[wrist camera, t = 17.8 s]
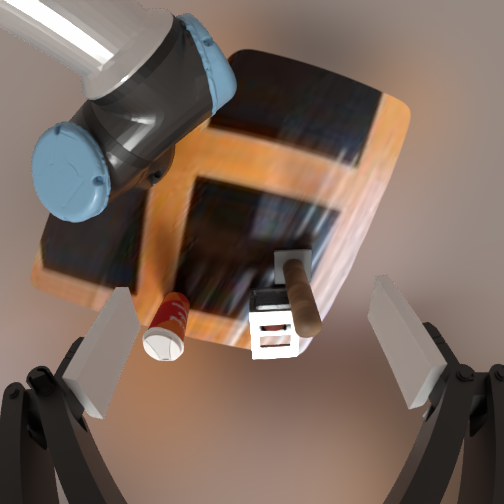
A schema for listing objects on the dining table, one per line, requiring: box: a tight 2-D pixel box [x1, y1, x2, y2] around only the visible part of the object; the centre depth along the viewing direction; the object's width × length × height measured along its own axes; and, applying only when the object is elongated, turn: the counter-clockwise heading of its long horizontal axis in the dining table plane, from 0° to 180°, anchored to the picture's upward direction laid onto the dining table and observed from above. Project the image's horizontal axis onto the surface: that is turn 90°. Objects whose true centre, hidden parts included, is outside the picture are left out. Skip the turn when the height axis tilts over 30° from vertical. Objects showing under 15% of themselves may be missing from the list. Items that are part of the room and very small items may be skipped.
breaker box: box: [250, 286, 299, 359], centre depth 57 cm, size 12×9×8 cm
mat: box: [274, 249, 312, 284], centre depth 56 cm, size 7×7×1 cm
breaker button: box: [263, 324, 285, 331], centre depth 58 cm, size 4×4×3 cm
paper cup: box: [143, 292, 190, 361], centre depth 53 cm, size 8×8×14 cm
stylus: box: [283, 259, 322, 338], centre depth 48 cm, size 4×4×17 cm
